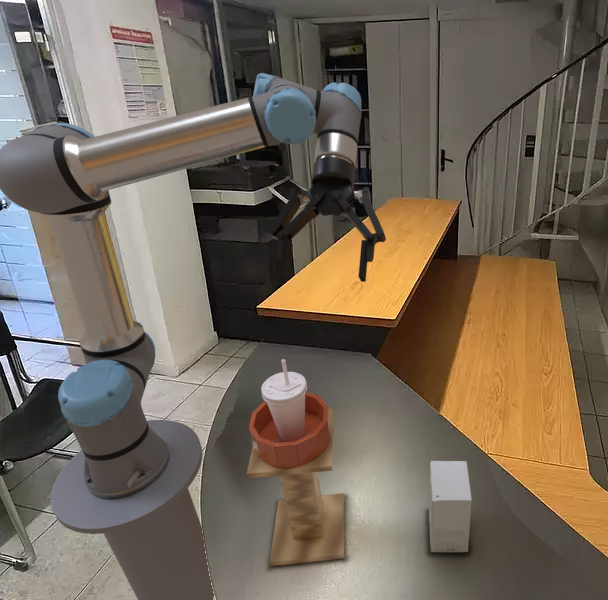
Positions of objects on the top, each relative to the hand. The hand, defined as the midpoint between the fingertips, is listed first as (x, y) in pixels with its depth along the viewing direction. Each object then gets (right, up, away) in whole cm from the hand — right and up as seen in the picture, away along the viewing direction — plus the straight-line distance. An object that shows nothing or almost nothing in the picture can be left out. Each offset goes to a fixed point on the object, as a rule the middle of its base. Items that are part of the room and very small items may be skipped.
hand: (322, 278), depth 82 cm
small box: (+22, -44, +2) cm, 49 cm away
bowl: (-3, -25, -8) cm, 26 cm away
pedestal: (-3, -44, +3) cm, 44 cm away
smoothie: (-3, -24, -8) cm, 26 cm away
